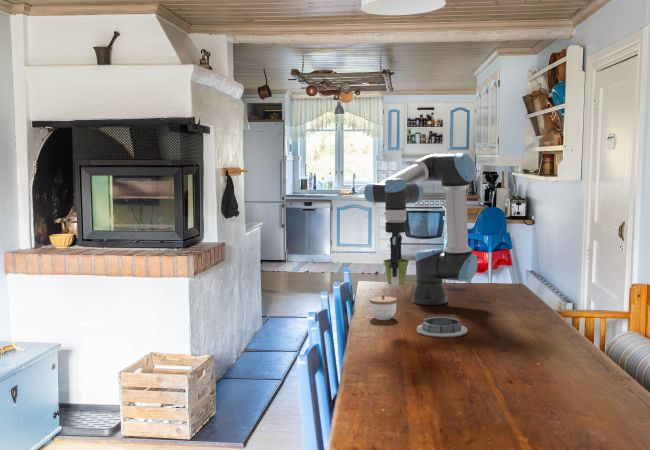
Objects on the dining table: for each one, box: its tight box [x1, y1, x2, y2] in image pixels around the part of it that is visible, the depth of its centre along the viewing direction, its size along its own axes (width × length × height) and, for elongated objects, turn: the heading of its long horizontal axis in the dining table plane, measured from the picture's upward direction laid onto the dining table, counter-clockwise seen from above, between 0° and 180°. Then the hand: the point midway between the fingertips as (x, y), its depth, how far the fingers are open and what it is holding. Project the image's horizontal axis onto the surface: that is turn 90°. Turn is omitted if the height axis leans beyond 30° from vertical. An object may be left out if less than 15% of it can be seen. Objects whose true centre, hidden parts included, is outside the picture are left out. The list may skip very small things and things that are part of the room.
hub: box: [416, 316, 468, 338], centre depth 243 cm, size 18×18×4 cm
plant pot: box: [382, 258, 410, 286], centre depth 245 cm, size 9×9×9 cm
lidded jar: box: [368, 294, 398, 321], centre depth 265 cm, size 11×11×9 cm
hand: (396, 283), depth 245 cm, fingers closed on plant pot, 8 cm apart
